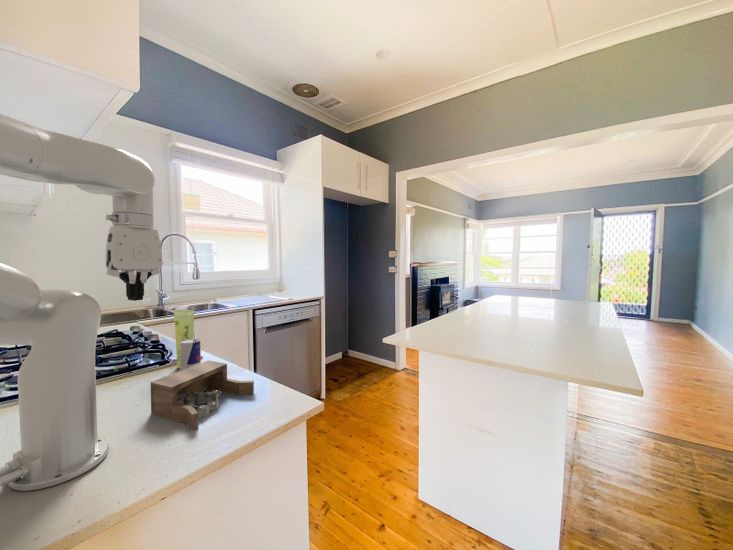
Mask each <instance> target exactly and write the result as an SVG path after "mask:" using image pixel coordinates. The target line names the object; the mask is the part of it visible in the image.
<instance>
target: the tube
mask: <svg viewBox="0 0 733 550" xmlns="http://www.w3.org/2000/svg"><path fill="white" fill-rule="evenodd" d="M172 311H173V318H174V331H175V332H174V334H175V344H176V345H175V350H176V367H177V369H180V343H181V341H182V340H186V339H195V338H194V336H195V335H194V334H195V333H194V332H195V331H194V328H195V327H194V325H195V323H194V322H195V310H194V309H193V310H192V309H188V310H187V309H173V310H172Z"/></svg>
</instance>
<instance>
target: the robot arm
mask: <svg viewBox="0 0 733 550" xmlns="http://www.w3.org/2000/svg"><path fill="white" fill-rule="evenodd" d="M0 175H2V176H6V177H11V178H16V179H18V180H24V181H31V182H34V183H35V182H36V183H37V182H38V183H44V184H46V183H47V184H53V185H54V184H55V185H72V186H75V187H76V188H78V189H80V190H81V191H84V192H87V193H90V194H94V195H104V196H105V195H106V196H111V198H112V212H111V214H106V215H105V219H106V221H109V222H111V224H112V226H109V229H108V233H107V238H106V245H105V266H106V268H107V269H106V275H107V276H110V277H117V278H119V279H120V280H121V281H122V282H123V283H124V284H125V295H126V297H127V300H128V301H134V302H135V301H143V300H144V295H145V284H146V283H147V282H148V281H147V280H149V279H150V277H151V276H156V275H160V273H161V272H160V269H162V268H163V251H162V244H161V237H160V234H159V232H158V230H157V229H154V186H155V184H156V183H155V175H154V172H153V169H151V167H150V166H149V164H148V163H147V162H146V161H144V160H143V159H142V158H140V157H138V156H136V155H134V154H132V153H129V152H127V151H125V150H122V149H119V148H116V147H113V146H109V145H107V144H102V143H97V142H94V141H90V140H86V139H81V138H78V137H74V136H71V135H67V134H63V133H59V132H56V131H55V132H54V131H52V130H46V129H43V128H40V127H37V126H34V125H32V124H29V123H26V122H23V121H21V120H18V119H15V118H13V117H10V116H8V115H5V114H2V113H0ZM134 271H135V272H134ZM101 318H102V310H101V306H100V304H99V303H98V301H97V300H96V298H94V297H92V296H90V295H89V294H87V293H84V292H80V291H76V290H69V289H40V287H39V286H38V284H37V283H36V282H35V280H33V278H31V277H30V276H29V275H27V274H25V273H24V272H22V271H21V270H18V269H17V268H14V267H12V266H9V265H7V264H5V263H4V262H3V263H2V262H0V346H1V345H2V346H31V347H30V348H31V349H30V351H29V353H28V354H27V356H26V357H25V359H24V360H23V362H22V363H21V365H20V367H19V371H18V374H17V390H18V392H17V393H18V413H19V430H20V434H19V435H20V450H18V451H16V452H13V453H12V460H9V461H8V462H5V465H4V466H1V467H0V488H1V487H4V486H5V485H8V487H10V489H13V490H14V491H21V492H22V491H23V492H24V491H34V490H35V491H36V490H40V489H46V488H50V487H53V486H56V485H60V484H63V483H64V482H67V481H69V480H73V479H74V478H77V477H79V476H81V475H82V474H84V473H86V472H88V471H90V470H92V469H93V468H95V467H96V466H97V465H98V464H99V463H101V462H102V461H103V460H104V459H105V458H106V457H107V455H108V453H109V442H108V441H107V440H105V439H103V438H100V437H98V413H97V411H98V410H97V409H98V407H97V406H98V405H97V404H98V403H97V383H96V382H97V381H96V379H97V377H96V348H97V347H96V345H97V338H98V333H99V329H100V327H101V326H100V325H101V321H102V319H101Z"/></svg>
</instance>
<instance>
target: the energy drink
mask: <svg viewBox="0 0 733 550" xmlns="http://www.w3.org/2000/svg"><path fill="white" fill-rule="evenodd" d="M201 359H202V358H201V340H200V339H199V338H194V339H186V340H182V341H181V343H180V368H179V369H180V370H179V371H182V370H184V369H187V368H189V367H192V366H195V365H197V364H200V363H202V361H201Z"/></svg>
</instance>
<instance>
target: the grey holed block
mask: <svg viewBox="0 0 733 550" xmlns="http://www.w3.org/2000/svg"><path fill="white" fill-rule="evenodd" d="M222 393H223V392H221V391H219V390H217V391H216V390H211V392H210V391H206V392H205V391H203V392H194V393H191V391H186V393H185V394H184V393H183V392H182V393H181V394H179V395H177V403H181V404H185V405H188V406H192V407H194V409H195V410H196V411H197V412H198V419H199V418H200V417H204V416H205V417H206V416H208V415H210V411H212V410H217V409H218V408H220V399H219V397H220V396H221V394H222ZM197 403H198V404H202V403H205V404H202V405H200V406H197ZM206 404H207V405H206Z"/></svg>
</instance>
